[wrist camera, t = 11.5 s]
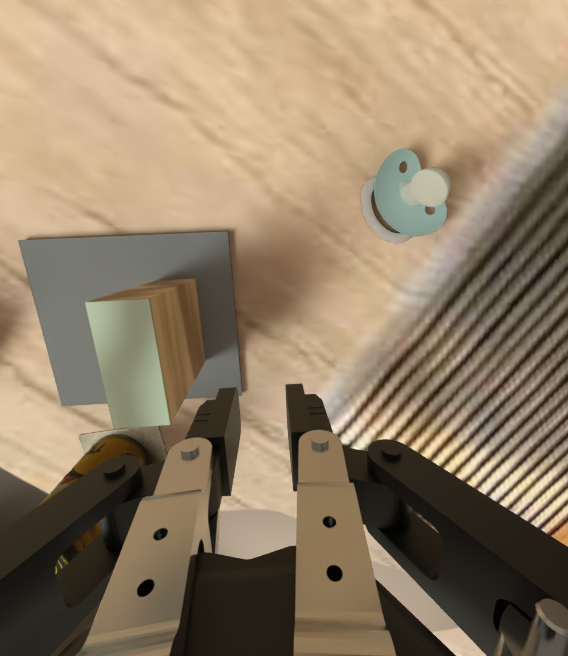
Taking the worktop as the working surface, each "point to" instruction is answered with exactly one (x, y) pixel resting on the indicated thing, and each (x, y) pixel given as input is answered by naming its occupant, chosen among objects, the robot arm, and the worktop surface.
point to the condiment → (101, 450)
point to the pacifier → (406, 197)
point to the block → (148, 349)
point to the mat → (121, 274)
